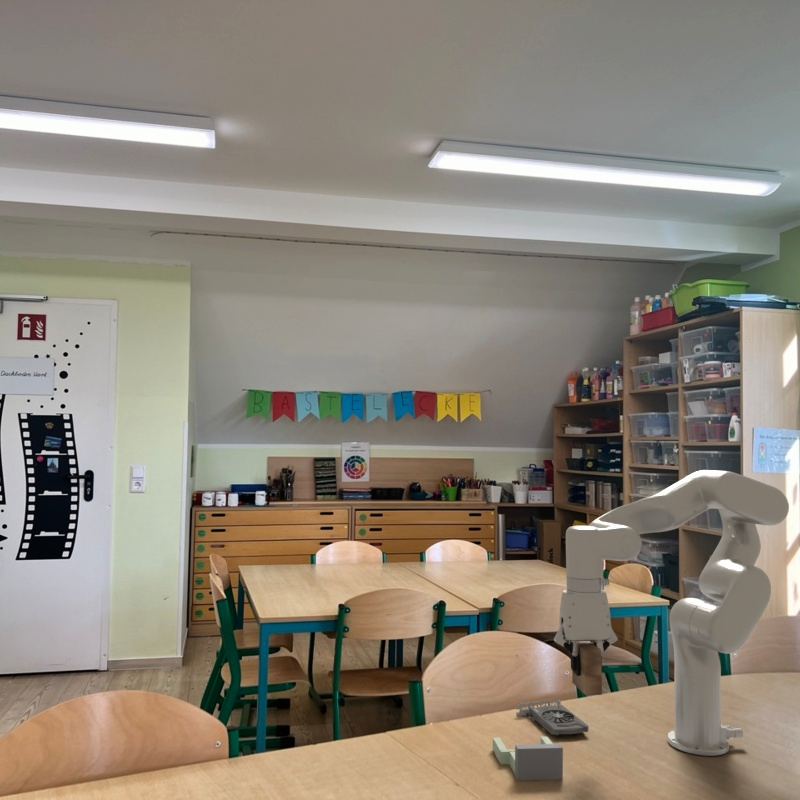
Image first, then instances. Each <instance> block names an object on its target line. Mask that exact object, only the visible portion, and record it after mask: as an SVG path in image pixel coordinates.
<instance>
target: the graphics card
mask: <svg viewBox="0 0 800 800" xmlns="http://www.w3.org/2000/svg"><path fill="white" fill-rule="evenodd" d="M546 703H547V704H546ZM531 705H532V706H531ZM535 705H536V707H535ZM515 707H516V710H519V711H517V712H516V713H515V714H516V715H515V717H530V719H531V720H532V722H537V723H538V724H539V725H540V726H542V728H544V729H545V730H546V731H547V732H549V734H551V735H553V736H559V735H574V734H575V735H574V736H575V737H577V736H578V735H576V734H579V733H588V732H589V731H590V730H589V725H588V724H587V723H585V722H584V721H583V720H581V718H579V717H578V716H576V714H574V713H573V712H572V711H570V710H569V709H568V708H567V707H565V706H564V705H563V704H562V703H561V700H560V699H553V700H540V701H539V700H538V701H531V702H530V701H528V702H520V703H519V704H516V705H515ZM523 715H524V716H523Z"/></svg>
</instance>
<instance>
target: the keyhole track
mask: <svg viewBox="0 0 800 800" xmlns="http://www.w3.org/2000/svg"><path fill="white" fill-rule="evenodd" d="M514 747H515V748H514V749H507V747H506V746H505V743H504V742H503V741H502V739H501V737H499V736H498V737H492V751H493V753H494V754H495V757H496V759H497V760H498V762H499V763H500V765H509V766H510V768H511V771H513V773H514V777H515V779H516V781H520V782H521V781H551V780H552V781H553V780H555V781H557V780H560V781H561V780H564V776H563V775H564V773H563V772H564V766H563V765H564V751H563V750H564V748H563V746H562V745H561V743H553V742H552V740H551V739H550V738H549V737H548V736H540V743H538V744H537V743H535V744H531V743H530V744H515V746H514Z"/></svg>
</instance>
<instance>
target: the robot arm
mask: <svg viewBox="0 0 800 800" xmlns="http://www.w3.org/2000/svg"><path fill="white" fill-rule="evenodd" d="M789 505H790V504H789V500H788V498H787V496H786V495H785V494H784V493H783V492H782V491H781V490H780V489H779V488H777V487H775V486H772V485H770V484H767V483H764V482H761V481H759V480H756V479H753V478H750V477H748V476H745V475H742V474H739V473H736V472H734V471H728V470H712V469H710V470H709V469H702V470H698V471H694V472H692V473H691V474H688V475H687V476H685V477H682V478H681V479H680V480H678V481H676V482H674V483H673V484H672V485H669V486H667V487H666V488H665V489H663V490H660V491H659V492H657V493H655V494H653V495H650V496H648V497H644V498H641V499H639V500H637V501H633V502H630V503H627V504H624V505H621V506H618V507H616V508H613V509H611V510H609V511H608V512H606V513H604V514H603V515H601V516H598V517H597V518H596V519H594V520H592V522H589V524H588V525H573V526H569V527H568V528H567V529H566V531H565V569H566V571H565V575H566V589H564V590H562V592H561V593H562V594H561V597H560V607H559V617H558V619H559V620H558V630H557V632H556V634H555V636H554V637H553V641H554V642H555V643H556V644H558V645H559V646H561V647H563V648H565V649H566V650H567V651H568V653H569V654H570V668H571V671H573V672H574V673H575V674H576V675H577V676H580V675H581V661H580V656H579V653H578V650H579V642H580V641H590V642H591V643H593V644H594V645H595V646H597V647H598V648H599V649H601V666H602V667H603V661H602V659H603V656H604V654H605V651H606V650H607V649H608V648H609V647H610V645H612V644H614V643H615V642H617V641H618V640H619V639H618V636H617V635H616V633H615V632H614V629H613V628H612V622H611V611H610V605H609V601H608V600H609V599H608V595H607V592H606V591H605V587H606V586H609V585H610V580H609V579H608V578H605V577H604V573H603V572H604V571H603V570H604V569H603V568H604V567H603V564H604V563H603V561H605V560H606V561H617V562H627V561H631V560H633V559H634V558H636V557H637V556H638V555H639V554H640V552H641V550H642V548H643V547H642V546H643V541H642V538H641V535H643V534H651V533H662V532H668V531H672V530H676V529H678V528H680V527H681V526H683V525H685V524H686V523H688V522H690V521H691V520H693V519H695V518H697V517H698V516H699V515H701V514H703V513H704V512H706V511H708V510H710V509H713V510H714V509H716V510H718V512H719V515H720V519H721V524H722V534H721V535H722V536H721V538H720V540H719V542H718V544H717V546H716V548H715V549H714V551H713V553H712V554H711V556H710V557H709V560H708V561H707V562H706V564H705V566H704V568H703V569H702V571H701V573H700V575H699V577H698V588H699V590H700V591H701V593H702V594H703V595H704V596H706V597H707V598H709V599H711V600H713V601H716V602H719V603H720V604H717V603H714V602H712V601H708V600H705V599H701V598H696V597H684V598H681V599H679V600H678V601H677V602H675V603H674V604H673V606H672V607H671V609H670V612H669V628H670V633H671V637H672V638H671V639H672V643H673V653H674V654H673V656H674V657H673V659H674V671H673V674H674V679H673V680H674V681H673V682H674V729H673V730H671V731H669V732H668V733H667V743H668V744H669V745H670V746H672V747H673V748H675V749H678V750H679V751H681V752H685V753H688V754H693V755H698V756H708V757H709V756H710V757H711V756H712V757H715V756H721V755H724V754H727V753H728V752H729V751H730V744H729V742H728V741H727V740H730V738H733V739H735V738H736V739H740V738H741V739H742V738H743V736H744V733H743V730H742V728H739V727H737V728H732V727H731V726H730V725H723V724H722V696H721V695H722V691H721V688H722V686H721V684H722V677H721V675H722V674H721V673H722V671H721V670H722V669H721V668H722V667H721V659H720V656H719V653H721V654H734V653H736V652H738V651H739V650H740V649H742V648H743V646H744V645H745V644H746V642H747V641H748V639H749V638H750V636H751V634H752V633H753V631H754V630H755V628H756V626H757V624H758V622H759V620H760V619H761V617H762V616H763V614H764V612H765V610H766V608H767V606H768V604H769V602H770V599H771V593H772V585H771V581H770V578H769V576H768V574H767V573H766V572H765V571H764V570H763V569H761V568H760V567H757V566H755V564H756V562H757V560H758V558H759V556H760V553H761V539H760V536H759V535H760V534H759V532H758V531H759V530H758V529H757V525H761V526H769V527H770V526H776V525H779V524H781V523H782V522H784V521H785V519H786V518H787V516H788V514H789V511H790V510H789V509H790V506H789ZM564 638H565V639H564ZM566 640H567V641H566Z"/></svg>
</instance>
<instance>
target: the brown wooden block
mask: <svg viewBox="0 0 800 800" xmlns="http://www.w3.org/2000/svg"><path fill="white" fill-rule="evenodd" d="M578 653H579V656H580V661H581V675H580V676H577V675H576V674H575V673H574V672H573V671H572V670H571V671H572V678H571V679H572V681H571V682H572V683H573V684H574V686H575V687H577V689H578V690H580V692H582V693H583V694H584V695H585V696H596V695H599V696H602V695H603V679H602V676H603V674H602V669H603V665H602V666H601V649H599V648H598V647H597V646H595V645H594V644H593V642H592V641H580V642H579V650H578Z"/></svg>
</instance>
